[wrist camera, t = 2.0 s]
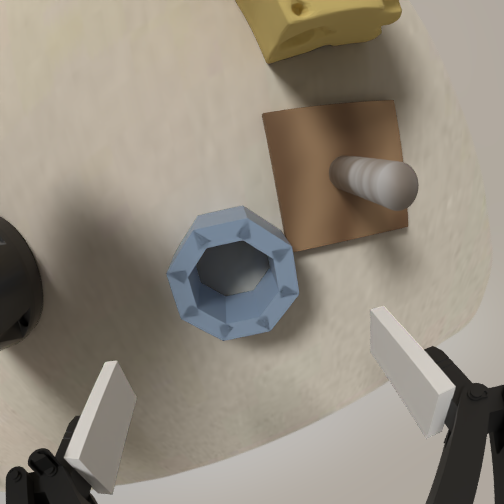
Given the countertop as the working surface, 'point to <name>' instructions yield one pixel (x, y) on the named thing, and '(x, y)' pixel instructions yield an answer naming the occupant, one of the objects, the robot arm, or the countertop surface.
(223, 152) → the countertop surface
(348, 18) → the cheese
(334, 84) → the countertop surface
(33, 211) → the countertop surface
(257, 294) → the ring
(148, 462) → the countertop surface
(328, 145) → the post
